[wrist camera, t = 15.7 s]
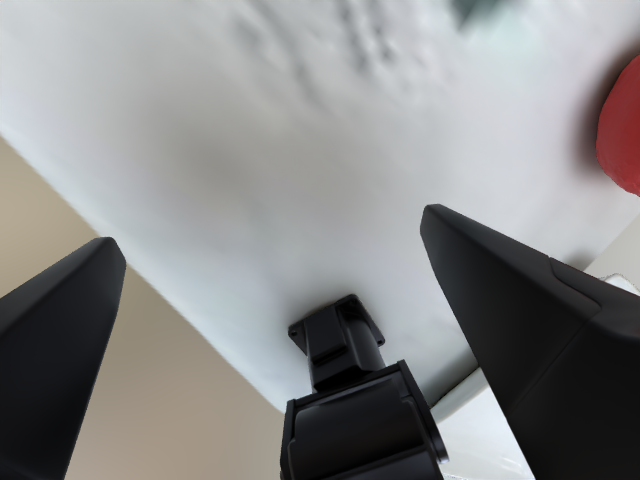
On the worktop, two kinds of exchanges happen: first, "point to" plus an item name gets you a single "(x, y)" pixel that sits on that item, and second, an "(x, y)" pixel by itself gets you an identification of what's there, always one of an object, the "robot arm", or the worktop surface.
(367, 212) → the worktop surface
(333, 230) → the worktop surface
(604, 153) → the pomegranate
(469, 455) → the square plate
